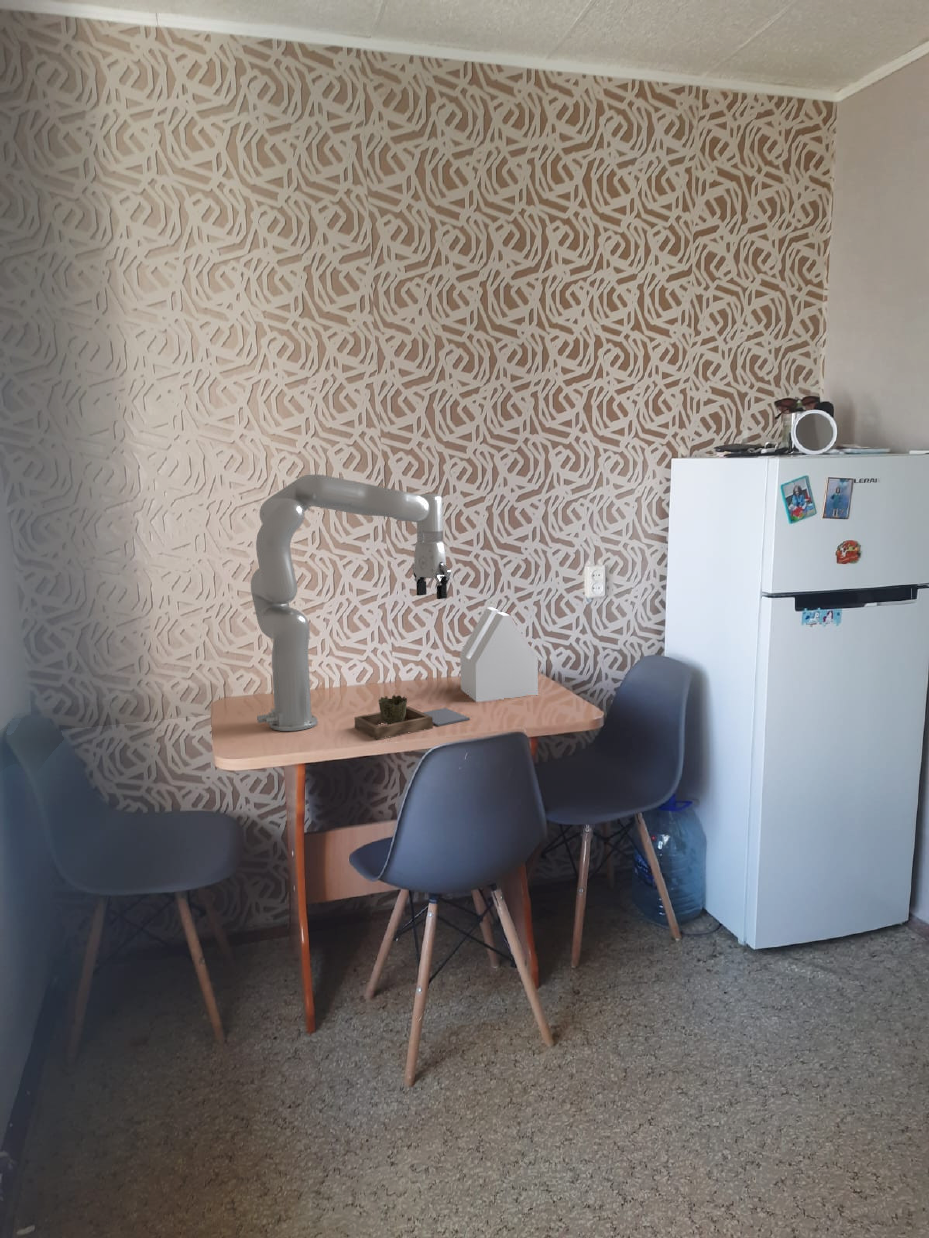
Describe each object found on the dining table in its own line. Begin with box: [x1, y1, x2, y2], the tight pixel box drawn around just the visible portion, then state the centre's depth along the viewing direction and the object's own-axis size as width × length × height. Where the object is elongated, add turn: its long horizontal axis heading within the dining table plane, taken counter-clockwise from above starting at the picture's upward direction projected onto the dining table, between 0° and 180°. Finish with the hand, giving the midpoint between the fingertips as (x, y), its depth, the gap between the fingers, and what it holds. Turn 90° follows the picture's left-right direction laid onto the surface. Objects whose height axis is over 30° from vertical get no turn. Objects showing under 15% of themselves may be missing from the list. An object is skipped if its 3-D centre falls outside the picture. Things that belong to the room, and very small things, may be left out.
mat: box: [421, 707, 470, 728], centre depth 230 cm, size 10×12×1 cm
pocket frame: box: [354, 706, 434, 740], centre depth 221 cm, size 16×12×3 cm
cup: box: [378, 694, 408, 725], centre depth 221 cm, size 8×7×8 cm
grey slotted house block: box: [459, 606, 539, 703], centre depth 253 cm, size 19×15×25 cm
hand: (431, 596), depth 244 cm, fingers open, 9 cm apart
